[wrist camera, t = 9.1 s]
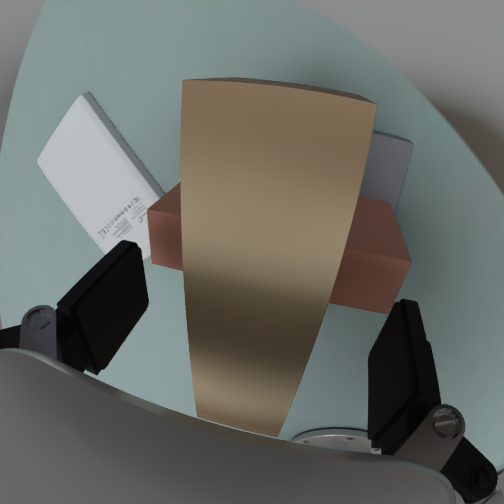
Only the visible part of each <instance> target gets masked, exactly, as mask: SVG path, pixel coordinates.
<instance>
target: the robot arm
mask: <svg viewBox="0 0 504 504" xmlns="http://www.w3.org/2000/svg"><path fill="white" fill-rule="evenodd" d="M148 304H149V299H148V293H147V286H146V280H145V273H144V265H143V258H142V250H141V248H140V247H138V244H137V243H136V242H132V241H128V240H121V241H120V242H119V243H118V244H117V245H116V246H115V247H114V248H112V249H111V250H110V251H109V252H108V253H107V254H106V255H105V256H104V257H103V258H102V259H101V260H100V261H99V262H98V263H97V264H96V265H95V266H93V267H92V268H91V269H90V270H89V271H88V272H87V273H86V274H85V275H84V276H83V277H82V278H81V279H80V280H79V281H78V282H77V283H76V284H75V285H74V286H73V287H72V288H71V289H70V290H69V291H68V292H67V293H66V295H65V296H64V297H63V298H62V299H61V300H60V301H59V302H58V303H57V306H58V308H57V309H56V310H54V309H53V308H52V307H50V306H48V305H39V306H36V307H33V308H32V309H30V310H29V311H28V312H27V313H26V314H25V315H24V317H23V319H22V322H21V325H17V326H13V327H10V328H6V329H2V330H0V504H504V496H503V494H502V492H501V490H498V491H497V490H496V485H497V480H498V477H497V471H496V469H495V467H494V466H493V464H492V463H491V462H490V461H489V460H488V459H487V458H486V457H485V456H484V455H483V454H482V453H481V452H479V451H478V450H477V449H476V448H475V447H474V446H473V445H472V444H471V443H470V442H469V441H468V440H467V439H466V438H465V437H464V436H463V435H464V432H465V421H464V418H463V416H462V414H461V413H460V412H459V411H458V410H457V409H456V408H455V407H453V406H451V405H448V404H441V398H440V391H439V385H438V379H437V374H436V368H435V363H434V358H433V353H432V349H431V345H430V342H429V341H427V339H426V335H425V330H424V326H423V322H422V318H421V314H420V310H419V306H418V303H417V302H416V301H412V300H407V299H401V300H400V302H395V303H394V305H393V307H392V310H391V312H390V314H389V316H388V318H387V320H386V322H385V324H384V326H383V328H382V330H381V332H380V334H379V336H378V338H377V340H376V342H375V343H374V345H373V347H372V349H371V351H370V354H369V357H368V432H364V431H359V430H352V429H323V430H315V431H310V432H306V433H303V434H301V435H298V436H297V437H295V438H294V439H293V440H292V441H291V442H289V441H284V440H279V439H274V438H269V437H265V436H260V435H256V434H252V433H248V432H244V431H240V430H236V429H232V428H228V427H225V426H221V425H218V424H214V423H211V422H207V421H204V420H201V419H198V418H194V417H191V416H188V415H185V414H182V413H179V412H176V411H173V410H171V409H168V408H165V407H162V406H159V405H157V404H154V403H151V402H149V401H146V400H144V399H141V398H139V397H136V396H134V395H131V394H129V393H126V392H124V391H122V390H119V389H117V388H115V387H112V386H110V385H108V384H106V383H104V382H101V381H99V380H97V379H95V378H93V377H91V376H88V375H86V374H84V373H83V372H84V371H85V369H86V370H87V371H89V372H91V373H93V374H95V375H98V374H99V372H100V371H101V369H102V370H104V369H105V368H106V367H107V366H108V364H109V363H110V361H111V360H112V358H113V357H114V355H115V354H116V352H117V351H118V349H119V348H120V346H121V345H122V344H123V342H124V341H125V339H126V338H127V336H128V335H129V333H130V332H131V331H132V329H133V328H134V326H135V325H136V324H137V322H138V321H139V319H140V318H141V316H142V315H143V314H144V312H145V311H146V309H147V307H148Z"/></svg>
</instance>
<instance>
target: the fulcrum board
mask: <svg viewBox="0 0 504 504" xmlns="http://www.w3.org/2000/svg"><path fill="white" fill-rule="evenodd" d="M412 148H413V143H412V142H411V141H409V140H407V139H403V138H400V137H396V136H392V135H389V134H385V133H381V132H377V131H372V136H371V141H370V146H369V151H368V156H367V160H366V165H365V169H364V174H363V178H362V183H361V187H360V191H359V195H358V199H357V204H356V208H355V212H354V215H353V219H352V223H351V227H350V231H349V234H348V238H347V242H346V245H345V249H344V252H343V256H342V259H341V263H340V266H339V270H338V273H337V276H336V280H335V283H334V286H333V289H332V293H331V296H330V299H329V302H328V303H332V304H337V305H343V306H348V307H353V308H358V309H364V310H369V311H374V312H380V313H385V314H389V312H390V309H391V307H392V305H393V303H394V301H395V299H396V297H397V294H398V292H399V290H400V288H401V285H402V283H403V281H404V279H405V276H406V274H407V272H408V269H409V267H410V264H411V259H410V256H409V253H408V250H407V247H406V245H405V242H404V239H403V236H402V234H401V231H400V228H399V226H398V223H397V221H396V218H395V215H394V214H395V211H396V208H397V204H398V201H399V197H400V194H401V190H402V187H403V183H404V179H405V176H406V172H407V168H408V164H409V160H410V156H411V152H412ZM147 220H148V231H149V241H150V251H151V260H152V263H153V264H157V265H161V266H165V267H169V268H173V269H177V270H181V271H183V255H182V230H181V182H180V183H179V184H177V185H176V186H175V187H174V188H172V189H171V190H170V191H169V192H167V193H166V194H165V195H164V196H162V197H161V198H160V199H159V200H158V201H156V202H155V203H154V204H153V205H152V206H150V207H149V208H148V209H147Z"/></svg>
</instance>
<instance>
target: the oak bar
mask: <svg viewBox="0 0 504 504" xmlns="http://www.w3.org/2000/svg"><path fill="white" fill-rule="evenodd" d="M376 109H377V104H376V103H374V102H372V101H370V100H368V99H366V98H364V97H362V96H359V95H356V94H351V93H347V92H342V91H337V90H332V89H326V88H320V87H314V86H308V85H302V84H295V83H287V82H279V81H271V80H261V79H249V78H207V79H191V80H183V84H182V108H181V160H180V176H181V230H182V255H183V274H184V291H185V305H186V318H187V330H188V341H189V352H190V362H191V371H192V380H193V388H194V396H195V404H196V412H197V417H200V418H203V419H206V420H210V421H213V422H217V423H220V424H224V425H228V426H231V427H235V428H239V429H243V430H247V431H251V432H256V433H260V434H265V435H269V436H274V437H278V435H279V433H280V430H281V428H282V426H283V423H284V421H285V419H286V416H287V414H288V411H289V409H290V406H291V404H292V402H293V399H294V397H295V394H296V392H297V389H298V386H299V384H300V381H301V379H302V376H303V373H304V371H305V368H306V365H307V363H308V360H309V357H310V355H311V352H312V349H313V346H314V343H315V341H316V338H317V335H318V332H319V329H320V326H321V323H322V320H323V317H324V314H325V311H326V308H327V305H328V302H329V299H330V296H331V293H332V289H333V286H334V283H335V280H336V276H337V273H338V270H339V266H340V263H341V259H342V256H343V252H344V249H345V245H346V242H347V238H348V234H349V231H350V227H351V223H352V219H353V215H354V212H355V208H356V204H357V199H358V195H359V191H360V187H361V183H362V178H363V174H364V169H365V165H366V160H367V156H368V151H369V146H370V141H371V136H372V131H373V125H374V120H375V114H376Z"/></svg>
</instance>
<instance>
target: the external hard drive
mask: <svg viewBox="0 0 504 504" xmlns="http://www.w3.org/2000/svg"><path fill="white" fill-rule="evenodd" d="M37 163H38V165H39V166H40V168H41V169H42V171H43V172H44V174H45V175H46V177H47V178H48V180H49V181H50V183H51V184H52V185H53V187H54V188H55V190H56V191H57V192H58V194H59V195H60V197H61V198H62V199H63V201H64V202H65V203H66V205H67V206H68V207H69V209H70V210H71V211H72V213H73V214H74V215H75V217H76V218H77V219H78V221H79V222H80V223H81V225H82V226H83V227H84V228H85V230H86V231H87V232H88V234H89V235H90V236H91V237H92V239H93V240H94V241H95V242H96V243H97V245H98V246H99V247H100V248H101V250H102V251H103V252H104V253H105V254H107V253H108V252H109V251H110V250H111V249H112V248H114V247H115V246H116V245H117V244H118V243H119V242H120V241H121V240H128V241H132V242H136V243H137V244H138V247H140V248H141V250H142V258H143V260H144V259H146V258H147V257H149V256H150V255H151V251H150V241H149V231H148V220H147V209H148V208H149V207H150V206H152V205H153V204H154V203H155V202H156V201H158V200H159V199H160V198H161V197H162V196H164V195H165V194H164V192H163V191H162V190H161V188H160V187H159V186H158V185H157V183H156V182H155V181H154V179H153V178H152V177H151V175H150V174H149V173H148V171H147V170H146V169H145V167H144V166H143V165H142V163H141V162H140V161H139V159H138V158H137V157H136V155H135V154H134V153H133V152H132V150H131V149H130V148H129V146H128V145H127V144H126V142H125V141H124V139H123V138H122V137H121V135H120V134H119V133H118V131H117V130H116V129H115V127H114V126H113V125H112V123H111V122H110V120H109V119H108V118H107V116H106V115H105V114H104V112H103V111H102V110H101V108H100V107H99V105H98V104H97V103H96V101H95V100H94V99H93V97H92V96H91V94H90V93H89V92H88V93H83V94H81V95H80V96H79V97H78V98H77V99H76V100H75V102H74V103H73V105H72V106H71V107H70V109H69V110H68V112H67V113H66V115H65V116H64V118H63V119H62V121H61V122H60V124H59V125H58V127H57V128H56V130H55V131H54V133H53V135H52V136H51V138H50V139H49V141H48V143H47V144H46V146H45V148H44V149H43V151H42V153H41V154H40V156H39V158H38V160H37Z"/></svg>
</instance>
